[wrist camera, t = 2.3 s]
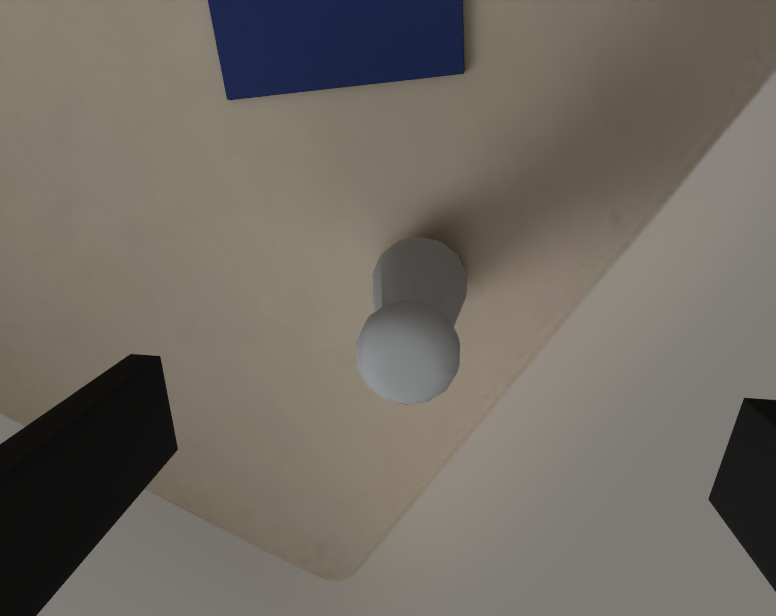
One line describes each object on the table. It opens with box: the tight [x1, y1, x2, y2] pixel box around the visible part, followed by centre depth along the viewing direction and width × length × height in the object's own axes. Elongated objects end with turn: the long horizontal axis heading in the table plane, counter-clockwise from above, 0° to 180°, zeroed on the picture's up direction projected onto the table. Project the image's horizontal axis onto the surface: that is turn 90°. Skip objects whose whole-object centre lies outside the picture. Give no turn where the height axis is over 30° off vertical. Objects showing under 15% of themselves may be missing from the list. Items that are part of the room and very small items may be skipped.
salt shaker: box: [357, 237, 467, 405], centre depth 23 cm, size 6×6×13 cm
